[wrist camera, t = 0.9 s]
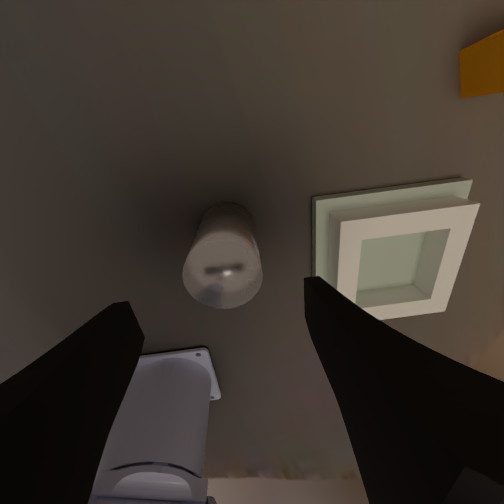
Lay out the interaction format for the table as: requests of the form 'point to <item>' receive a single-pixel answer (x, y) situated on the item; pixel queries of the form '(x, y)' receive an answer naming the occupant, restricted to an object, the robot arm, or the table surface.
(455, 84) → the table surface
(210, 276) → the grey cylinder
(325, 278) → the socket
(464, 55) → the pipe clamp
